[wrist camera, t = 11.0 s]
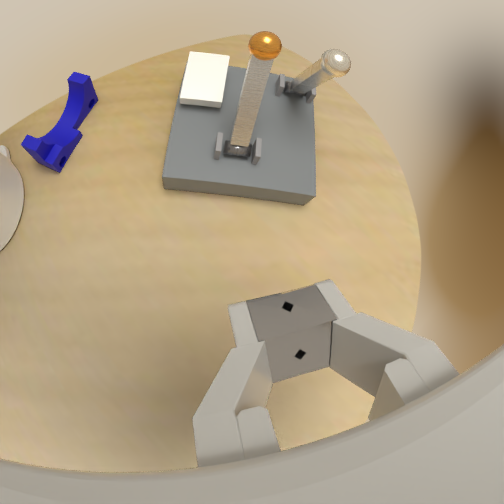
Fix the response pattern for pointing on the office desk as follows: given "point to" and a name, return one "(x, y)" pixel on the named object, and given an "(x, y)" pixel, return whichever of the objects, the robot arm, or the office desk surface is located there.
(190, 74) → the white rectangular block
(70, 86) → the cable clip
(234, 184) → the panel
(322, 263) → the office desk surface
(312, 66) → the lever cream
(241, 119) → the lever orange
